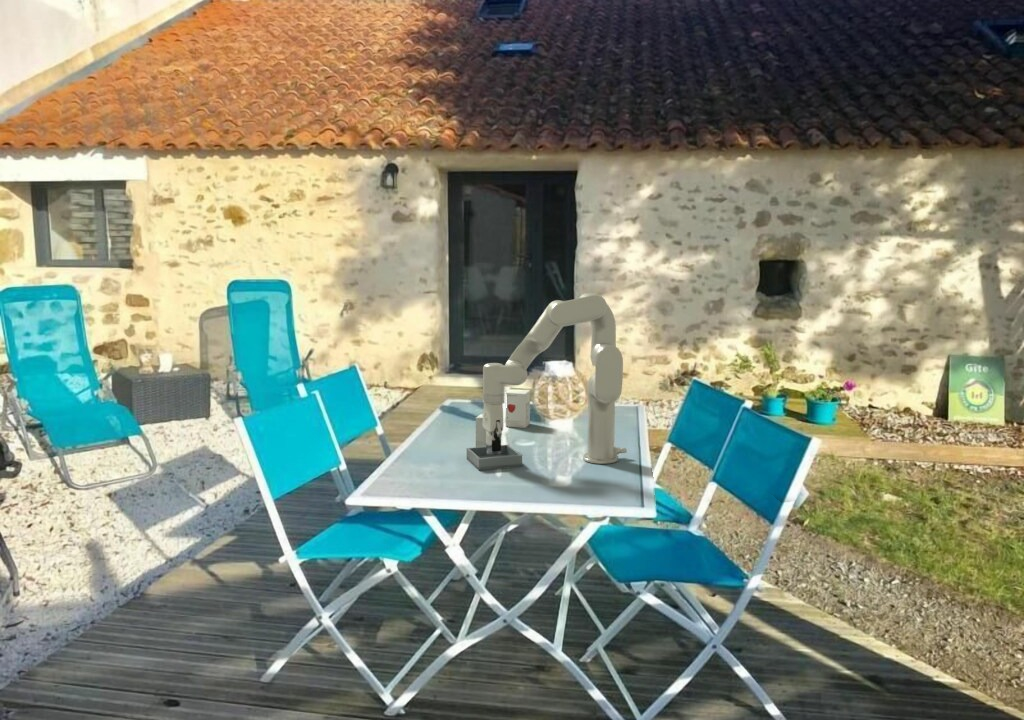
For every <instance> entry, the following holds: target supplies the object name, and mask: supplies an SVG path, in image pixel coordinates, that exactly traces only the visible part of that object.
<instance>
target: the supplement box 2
mask: <svg viewBox="0 0 1024 720" xmlns="http://www.w3.org/2000/svg"><path fill="white" fill-rule="evenodd" d="M506 394H507V408H506V407H505V427H506V426H508V427H507V428H521V429H525V428H527V427H528V426H529V425H530V423H531V420H530V418H531V417H530V416H531V390H530V389H514V388H510V389H509V390H508V391H506V392H505V395H506Z"/></svg>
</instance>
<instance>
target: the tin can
mask: <svg viewBox="0 0 1024 720" xmlns="http://www.w3.org/2000/svg"><path fill="white" fill-rule="evenodd" d="M494 431H497V430H494ZM496 434H497V433H495V435H496ZM492 440H493V437H492V432H491V433H490V432H489V431H487V430H486V453H487V454H491V455H496V454H500V453H501V451H496V452H492Z"/></svg>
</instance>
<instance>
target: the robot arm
mask: <svg viewBox="0 0 1024 720" xmlns="http://www.w3.org/2000/svg"><path fill="white" fill-rule="evenodd" d="M587 322H590V323H589V324H590V326H591V328H590V329H591V342H590V343H591V344H590V345H591V346H590V360H591V363H592V365H594V367H595V369H594V370H595V371H594V372H595V373H593V374H592V375H591V376H590V377H589V378H588V381H587V386H586V390H587V391H586V393H587V447H586V448H587V453H586V452H585V454H583V456H582V460H583V461H584V462H587V463H590V464H596V465H597V464H598V465H601V464H602V465H604V464H606V465H607V464H615V463H616V462H618V461H619V456H618V455H619V454H627V452H628V450H627V448H626V447H620V446H619V447H618V446H617V447H616V446H615V429H616V428H615V427H616V425H615V423H616V405H615V402H617V401H618V400H619V399H620V397H621V396H622V390H623V377H624V376H623V375H624V372H623V371H624V360H623V359H624V358H623V354H622V352H621V350H620V349H619V348H618V347H617V344H616V343H617V332H616V331H617V328H616V327H617V326H616V319H615V315H614V313H613V311H612V309H611V307H610V306H609V304H608V303H607V301H606V299H605V298H604V297H603V296H601V295H599V294H597V293H594V292H585V293H583V294H581V295H580V296H579V297H578V298H574V299H569V300H559V299H556V300H553V301H551V302H550V303H548V305H547V306H546V308H544V310H543V312H542V314H541V315H540V316H539V318H538V319H537V320H536V322H535V324H534V325H533V326H532V327H531V329H530V331H529V332H528V333H527V335H526V336H525V337H524V338H523V339H522V341H521V342H520V343H519V344H518V345H517V346H516V348H515V350H514V351H513V352H512V353H511V354H510V357H509V358H508V359H507V361H506V362H505V364H503V363H499V362H489V363H485V364H484V365H483V367H482V377H483V378H482V402H483V411H482V414H483V427H484V428H485V429H486V430H487V431H489V432H490V433H491V432H492V437H493V440H492V452H496V451H501V445H502V434H503V431H504V406H503V405H504V404H506V392H505V391H506V389H505V385H508V386H520V385H523V384H524V383H525V382H527V379H528V370H527V369H528V367H529V366H530V365H531V364H532V362H533V361H534V360H535V359H536V357H537V356H539V354H541V353H542V352H544V351H546V350H547V349H549V347H550V346H551V345H552V343H553V342H554V340H555V339H556V337H557V335H559V333H560V331H561V330H562V329H563V328H564V327H569V326H574V325H579V324H583V323H587ZM494 430H497V431H494ZM495 433H497V434H496V435H495Z"/></svg>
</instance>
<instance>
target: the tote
mask: <svg viewBox="0 0 1024 720" xmlns="http://www.w3.org/2000/svg"><path fill="white" fill-rule="evenodd" d="M466 460H467V461H468V462H469V463H470V464H471V465H472V466H473V467H474V468H476V470H478V471H490V470H500V469H508V468H509V469H511V468H520V467H523V454H521V453H520V452H518V451H517V450H516V449H514V448H513V447H512V446H510V445H509V444H501V453H500V454H496V455H491V454H487V453H486V447H476V446H475V447H467V448H466Z"/></svg>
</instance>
